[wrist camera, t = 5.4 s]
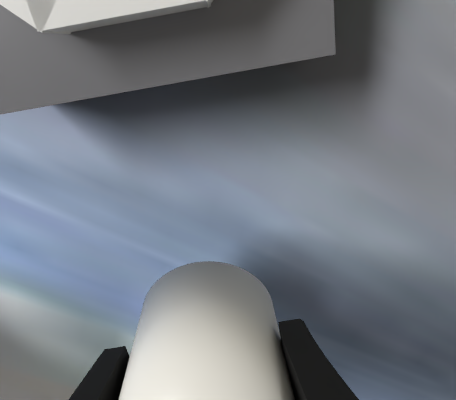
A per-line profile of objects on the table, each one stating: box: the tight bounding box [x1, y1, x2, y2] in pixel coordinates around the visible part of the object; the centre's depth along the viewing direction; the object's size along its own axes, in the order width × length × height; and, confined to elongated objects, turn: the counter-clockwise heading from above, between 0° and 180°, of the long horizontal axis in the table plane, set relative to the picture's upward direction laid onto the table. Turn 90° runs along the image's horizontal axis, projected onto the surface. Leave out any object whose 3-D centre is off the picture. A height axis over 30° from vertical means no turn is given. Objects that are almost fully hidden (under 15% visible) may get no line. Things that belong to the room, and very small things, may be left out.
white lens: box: [119, 262, 295, 400], centre depth 9 cm, size 4×4×6 cm
